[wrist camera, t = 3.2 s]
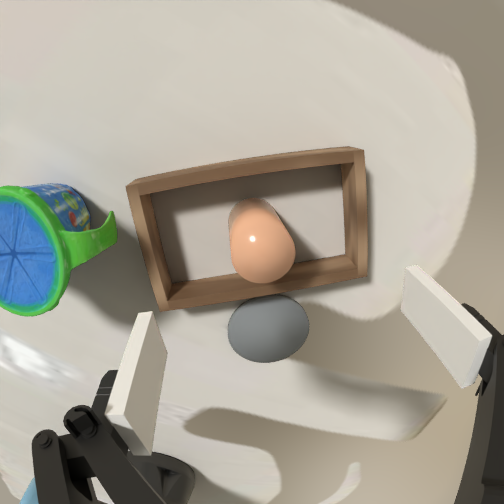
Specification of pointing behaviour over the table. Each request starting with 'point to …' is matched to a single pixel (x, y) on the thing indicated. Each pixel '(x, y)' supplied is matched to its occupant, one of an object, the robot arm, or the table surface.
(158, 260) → the tray
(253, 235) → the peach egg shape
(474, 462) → the robot arm
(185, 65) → the table surface
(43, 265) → the snack cup
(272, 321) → the slate coaster
